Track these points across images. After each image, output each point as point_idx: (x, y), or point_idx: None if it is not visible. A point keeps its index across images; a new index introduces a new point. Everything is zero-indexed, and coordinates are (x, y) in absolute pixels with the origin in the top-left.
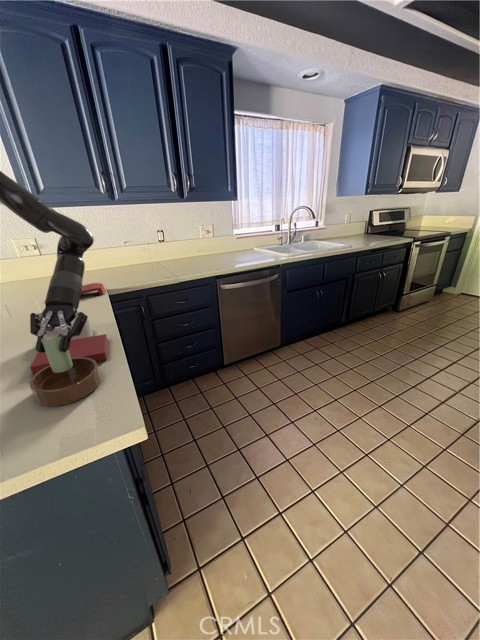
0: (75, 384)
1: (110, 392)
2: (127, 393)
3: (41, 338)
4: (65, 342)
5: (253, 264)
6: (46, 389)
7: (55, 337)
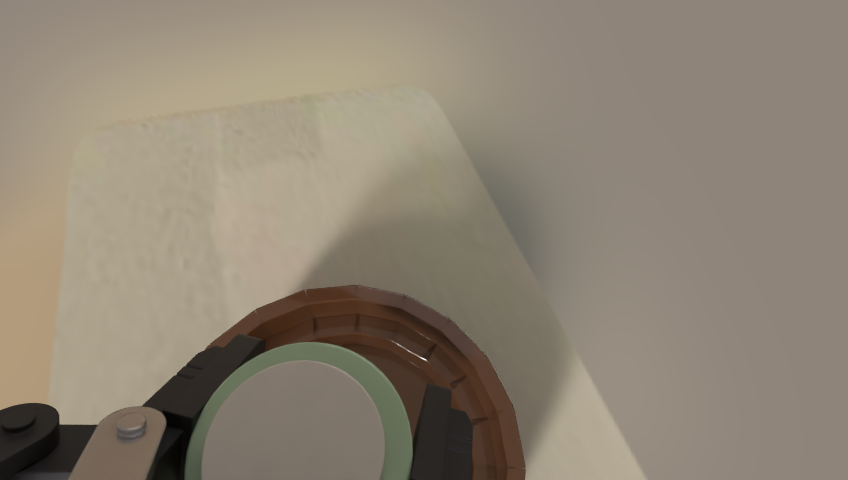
0: (262, 312)
1: (148, 355)
2: (72, 321)
3: (417, 461)
4: (186, 378)
5: None
6: None
7: (248, 384)
